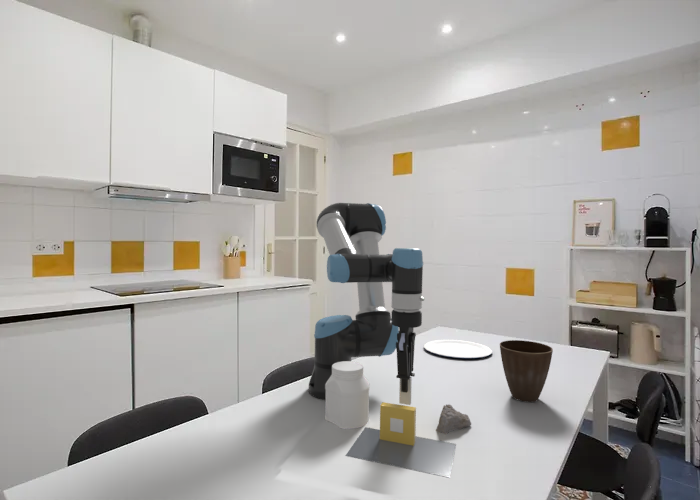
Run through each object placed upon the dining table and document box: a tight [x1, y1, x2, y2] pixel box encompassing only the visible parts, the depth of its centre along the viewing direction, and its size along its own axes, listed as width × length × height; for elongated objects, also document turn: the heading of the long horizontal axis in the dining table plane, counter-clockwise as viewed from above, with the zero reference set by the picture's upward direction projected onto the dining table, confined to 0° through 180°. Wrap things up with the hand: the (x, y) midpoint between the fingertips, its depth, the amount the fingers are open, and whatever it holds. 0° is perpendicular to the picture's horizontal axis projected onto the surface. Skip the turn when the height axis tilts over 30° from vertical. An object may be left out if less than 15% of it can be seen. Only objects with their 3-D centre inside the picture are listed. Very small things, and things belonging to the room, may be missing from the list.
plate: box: [423, 339, 493, 360], centre depth 174 cm, size 29×29×2 cm
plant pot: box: [499, 339, 554, 403], centre depth 121 cm, size 15×15×16 cm
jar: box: [324, 360, 370, 430], centre depth 103 cm, size 12×10×15 cm
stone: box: [435, 403, 472, 435], centre depth 99 cm, size 10×8×6 cm
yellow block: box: [379, 401, 417, 446], centre depth 92 cm, size 8×2×8 cm, turn 70°
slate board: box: [345, 426, 457, 479], centre depth 88 cm, size 22×14×1 cm, turn 70°
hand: (405, 403), depth 99 cm, fingers closed
